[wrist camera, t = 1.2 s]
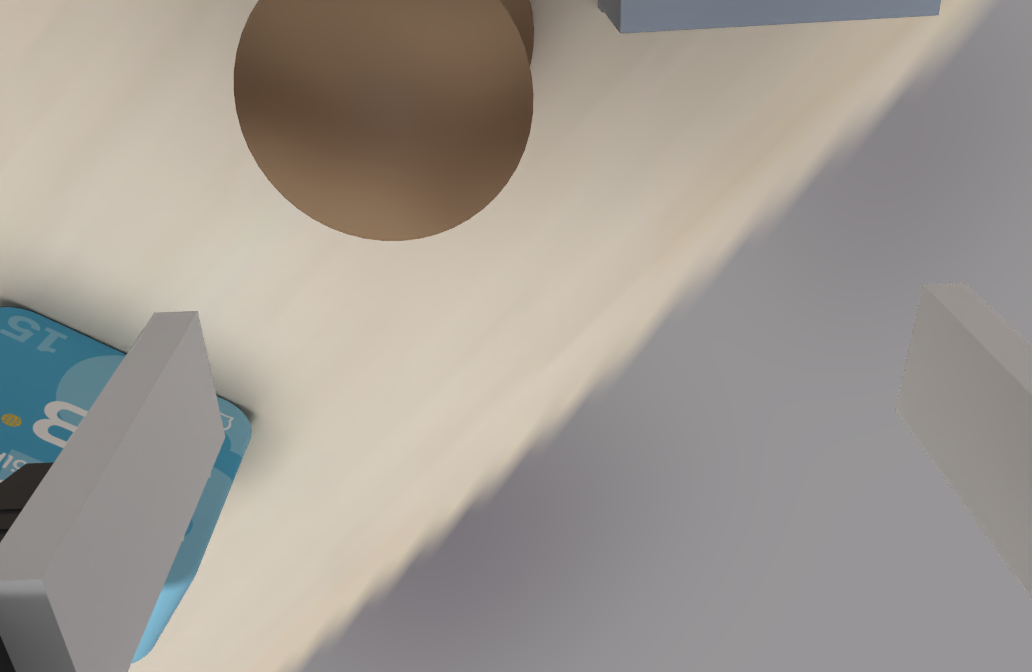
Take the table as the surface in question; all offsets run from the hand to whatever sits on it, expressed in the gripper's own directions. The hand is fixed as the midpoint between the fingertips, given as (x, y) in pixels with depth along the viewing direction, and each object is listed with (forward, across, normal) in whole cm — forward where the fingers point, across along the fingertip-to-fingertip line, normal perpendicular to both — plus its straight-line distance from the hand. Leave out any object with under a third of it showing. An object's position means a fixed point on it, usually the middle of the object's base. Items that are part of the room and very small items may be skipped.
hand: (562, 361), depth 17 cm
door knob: (+21, -4, +2) cm, 22 cm away
